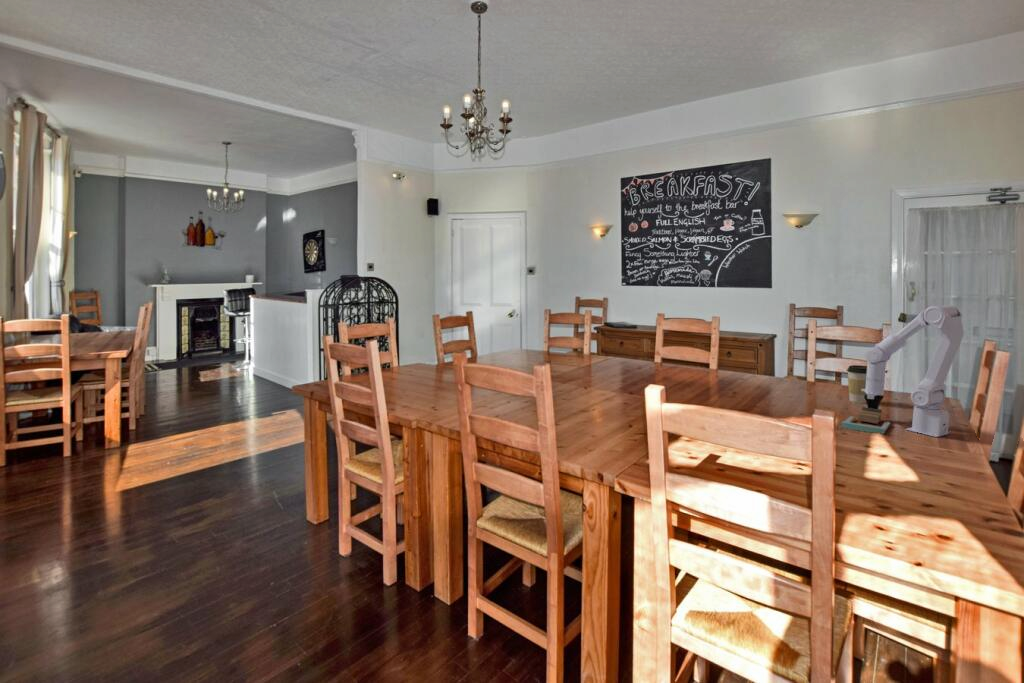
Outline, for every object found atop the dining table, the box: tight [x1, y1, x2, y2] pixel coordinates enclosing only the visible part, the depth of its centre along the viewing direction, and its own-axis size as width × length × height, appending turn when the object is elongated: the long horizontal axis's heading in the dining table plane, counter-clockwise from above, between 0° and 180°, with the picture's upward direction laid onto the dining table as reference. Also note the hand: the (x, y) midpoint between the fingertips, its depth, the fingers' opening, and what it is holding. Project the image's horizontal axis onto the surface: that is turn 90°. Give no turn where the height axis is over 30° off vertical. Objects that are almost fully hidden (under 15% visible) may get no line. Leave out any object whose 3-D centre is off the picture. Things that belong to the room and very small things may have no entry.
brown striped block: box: [858, 406, 883, 425], centre depth 196 cm, size 7×6×4 cm
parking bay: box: [840, 415, 891, 435], centre depth 190 cm, size 14×12×2 cm
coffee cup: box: [846, 364, 867, 404], centre depth 225 cm, size 10×10×15 cm
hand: (872, 414), depth 199 cm, fingers closed
